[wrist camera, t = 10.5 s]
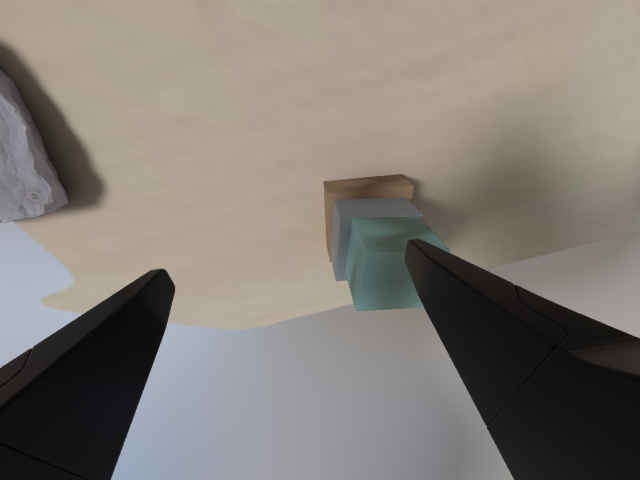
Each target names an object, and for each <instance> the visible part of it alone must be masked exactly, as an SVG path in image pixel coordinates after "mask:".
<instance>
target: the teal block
mask: <svg viewBox="0 0 640 480" xmlns="http://www.w3.org/2000/svg"><path fill="white" fill-rule="evenodd" d="M410 239H421V240H424V241H426V242H428V243H430V244H432V245H434V246H436V247H438V248H440V249H442V250H444V251H446V252H450V249H449V248H448V247H447V246H446V245H445V244H444V243H443V242H442V241H441V240H440V239H439V237H438V236H437V235H436V234H435V233H434V232H433V231H432V230H431V229H430V228H429V226H428V225H427V224H426V223H425V222H424V221H423V220H422V219H421V218H420V217H391V218H352V223H351V231H350V238H349V246H348V253H347V261H346V269H345V273H346V277H347V280H348V284H349V288H350V291H351V295H352V298H353V302H354V305H355V309H356V311H367V310H383V309H402V308H420V307H424V306H423V304H422V302H421V300H420V298H419V296H418V294H417V292H416V289H415V287H414V284H413V281H412V279H411V276H410V274H409V271H408V268H407V266H406V263H405V252H406V246H407V242H408V240H410Z"/></svg>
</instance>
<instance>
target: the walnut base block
mask: <svg viewBox="0 0 640 480" xmlns="http://www.w3.org/2000/svg"><path fill="white" fill-rule="evenodd" d="M413 189H414V185H413V184H412V183H411V182H410V181H409V180H407V179H406V178H405V177H404V176H403V175H402V174H398V175H388V176H377V177H366V178H356V179H345V180H335V181H324V200H325V221H326V241H327V249H328V254H329V258H330V262H332V260H331V250H332V230H333V211H334V200H347V199H377V198H407V199H408V200H409V201H410V202H411V200H412V195H413Z"/></svg>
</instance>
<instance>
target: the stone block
mask: <svg viewBox="0 0 640 480" xmlns="http://www.w3.org/2000/svg"><path fill="white" fill-rule="evenodd" d="M66 203H68V198H67V195H66V193H65V189H64V187H63V186H62V184H61V183H60V181H59V179H58V175H57V172H56V170H55V169H54V166H53V164H52V162H51V161H50V159H49V158H48V156H47V152H46V150H45V147H44V145H43V138H42V136H41V134H40V133H39V131H38V129H37V128H36V126H35V124H34V121H33V119H32V116H31V114H30V112H29V111H28V109H27V107H26V106H25V104H24V102H23V100H22V98H21V95H20V93H19V90H18V88H17V86H16V85H15V83H14V81H13V80H12V79H11V78H10V77H9V76H8V75H6V74H5V73H4V72H3V71H2V70H1V69H0V223H5V222H10V221H14V220H20V219H27V218H34V217H37V216H41V215H44V214H48V213H50V212H53V211H55V210H58V209H59V208H60V207H62V206H64V205H65V204H66Z"/></svg>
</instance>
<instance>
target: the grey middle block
mask: <svg viewBox="0 0 640 480" xmlns="http://www.w3.org/2000/svg"><path fill="white" fill-rule="evenodd" d="M391 217H420V218H421V219H422V214H421V213H420V212H419V210H418V209H417V208H416V207H415V206H414V205H413V204H412V203H411V202H410V201H409V200H408V199H407V198H377V199H347V200H334V211H333V230H332V250H331V260H332V265H333V269H334V274H335V278H336V281H342V280H347V277H346V273H345V269H346V261H347V253H348V246H349V238H350V231H351V223H352V218H391Z"/></svg>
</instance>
